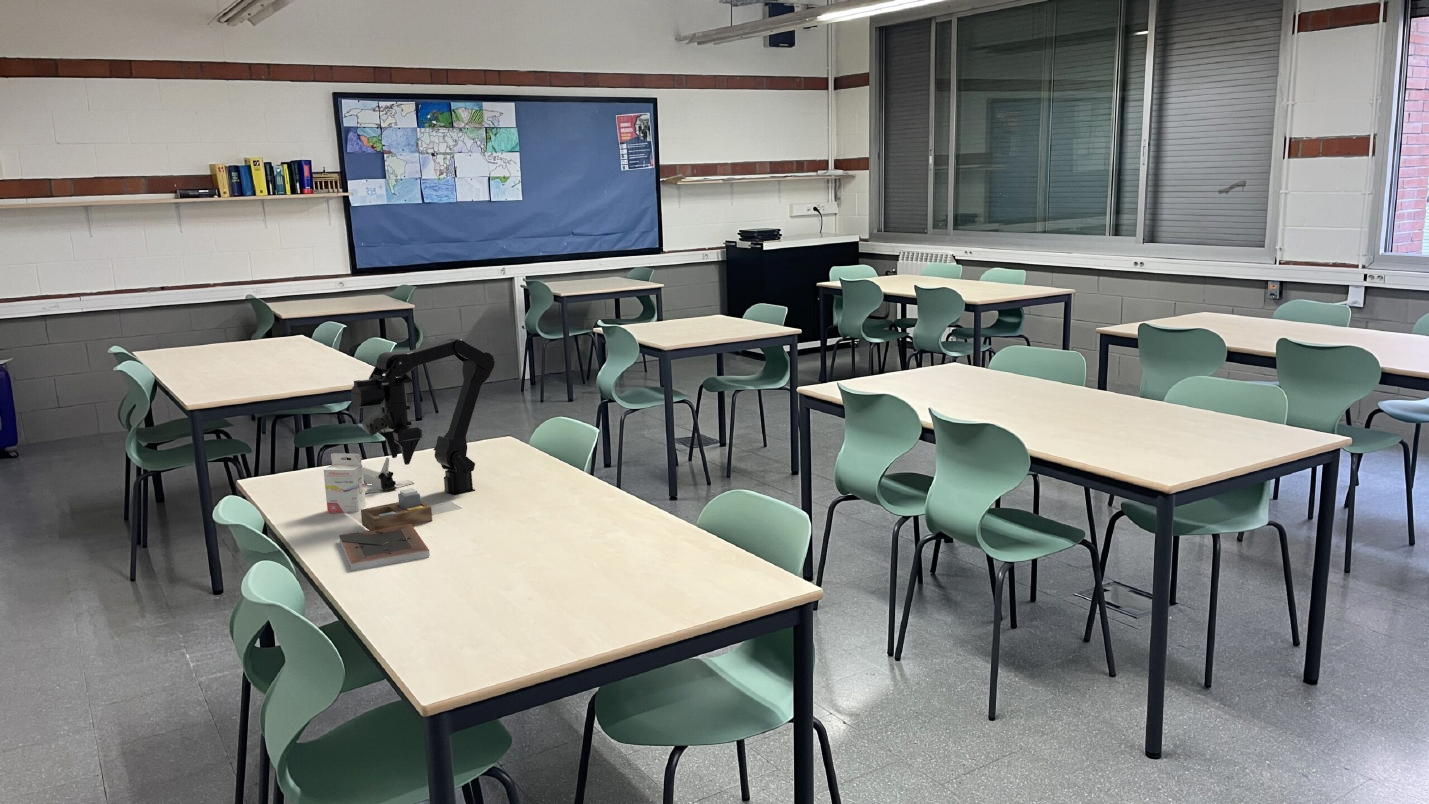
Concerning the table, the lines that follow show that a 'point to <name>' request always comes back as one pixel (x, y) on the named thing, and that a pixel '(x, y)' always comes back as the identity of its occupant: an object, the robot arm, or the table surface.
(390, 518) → the socket block
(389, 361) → the robot arm
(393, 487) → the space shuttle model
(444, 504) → the pad
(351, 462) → the ink cartridge box
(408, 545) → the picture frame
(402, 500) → the plug
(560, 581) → the table surface
